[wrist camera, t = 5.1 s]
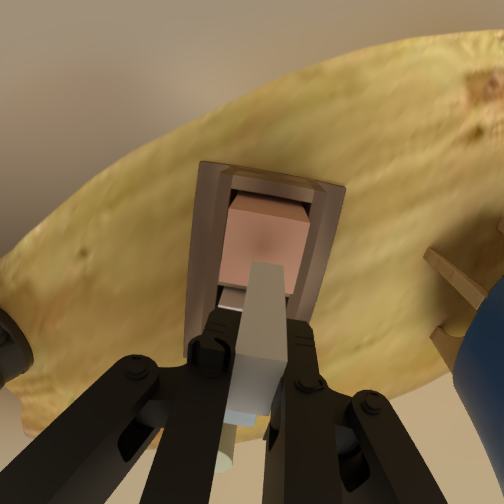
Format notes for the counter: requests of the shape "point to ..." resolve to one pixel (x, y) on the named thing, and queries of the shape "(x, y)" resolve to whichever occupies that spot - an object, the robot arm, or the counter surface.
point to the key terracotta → (263, 237)
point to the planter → (478, 357)
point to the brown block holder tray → (214, 226)
